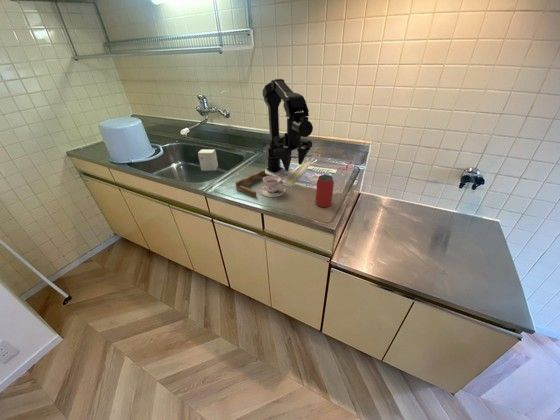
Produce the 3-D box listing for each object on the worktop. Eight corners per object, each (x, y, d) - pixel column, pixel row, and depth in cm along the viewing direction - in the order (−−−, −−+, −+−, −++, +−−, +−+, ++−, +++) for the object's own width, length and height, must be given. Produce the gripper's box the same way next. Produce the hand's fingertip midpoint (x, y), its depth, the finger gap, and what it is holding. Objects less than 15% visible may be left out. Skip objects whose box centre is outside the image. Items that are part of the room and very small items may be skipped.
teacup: (255, 195, 110) (254, 182, 106) (265, 183, 119) (265, 172, 116) (280, 199, 106) (280, 186, 103) (288, 187, 116) (289, 175, 112)
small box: (218, 167, 137) (215, 149, 131) (215, 171, 132) (212, 152, 127) (204, 167, 138) (201, 149, 132) (201, 171, 133) (197, 152, 127)
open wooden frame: (263, 176, 126) (263, 169, 124) (281, 183, 119) (281, 175, 117) (236, 189, 114) (235, 181, 112) (254, 197, 107) (253, 189, 105)
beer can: (313, 200, 105) (315, 174, 98) (328, 199, 105) (331, 173, 99) (317, 208, 99) (319, 181, 93) (333, 207, 100) (336, 180, 93)
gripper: (292, 123, 107) (292, 157, 115) (263, 132, 95) (264, 169, 103) (313, 127, 101) (311, 163, 109) (285, 137, 89) (285, 176, 97)
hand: (293, 167), depth 105 cm, fingers open, 9 cm apart
